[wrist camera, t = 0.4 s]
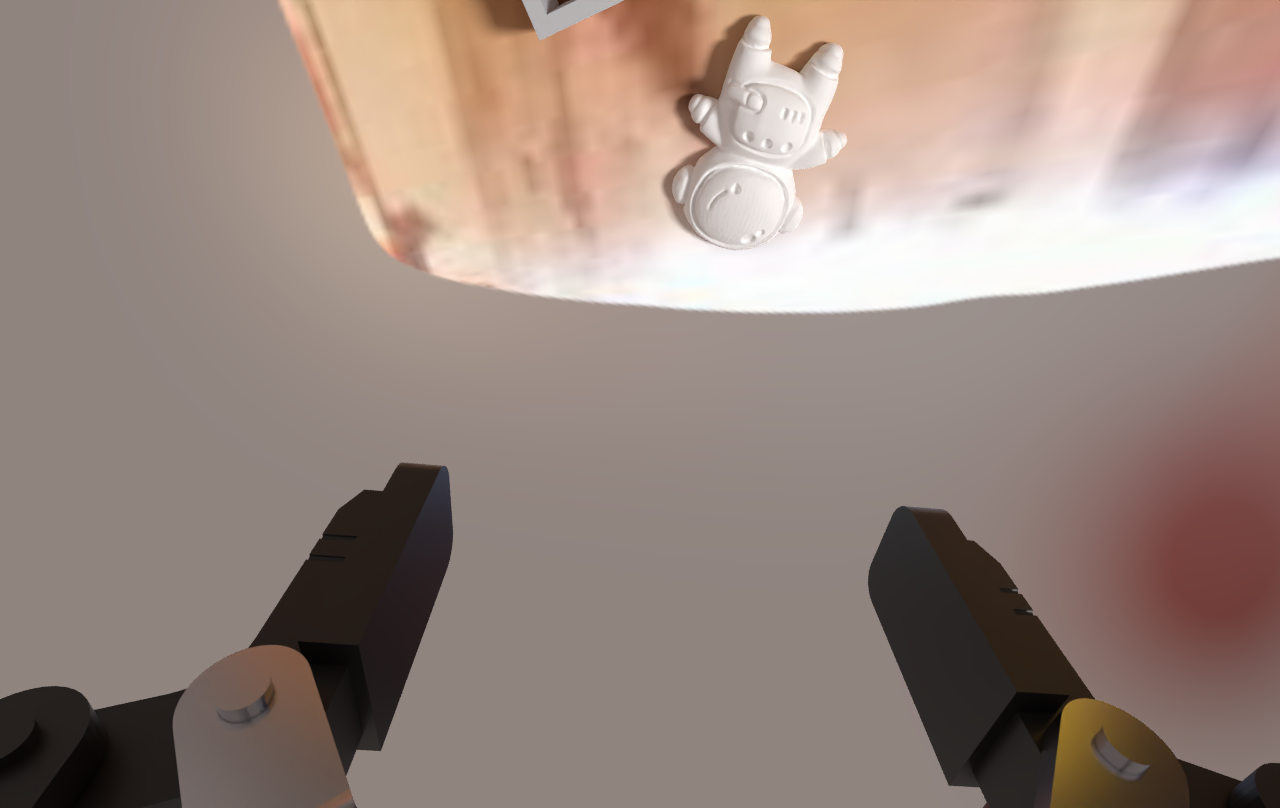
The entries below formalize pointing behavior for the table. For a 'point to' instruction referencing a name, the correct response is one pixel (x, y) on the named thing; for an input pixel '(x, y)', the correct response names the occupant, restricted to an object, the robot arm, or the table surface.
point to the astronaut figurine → (758, 143)
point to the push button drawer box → (562, 13)
